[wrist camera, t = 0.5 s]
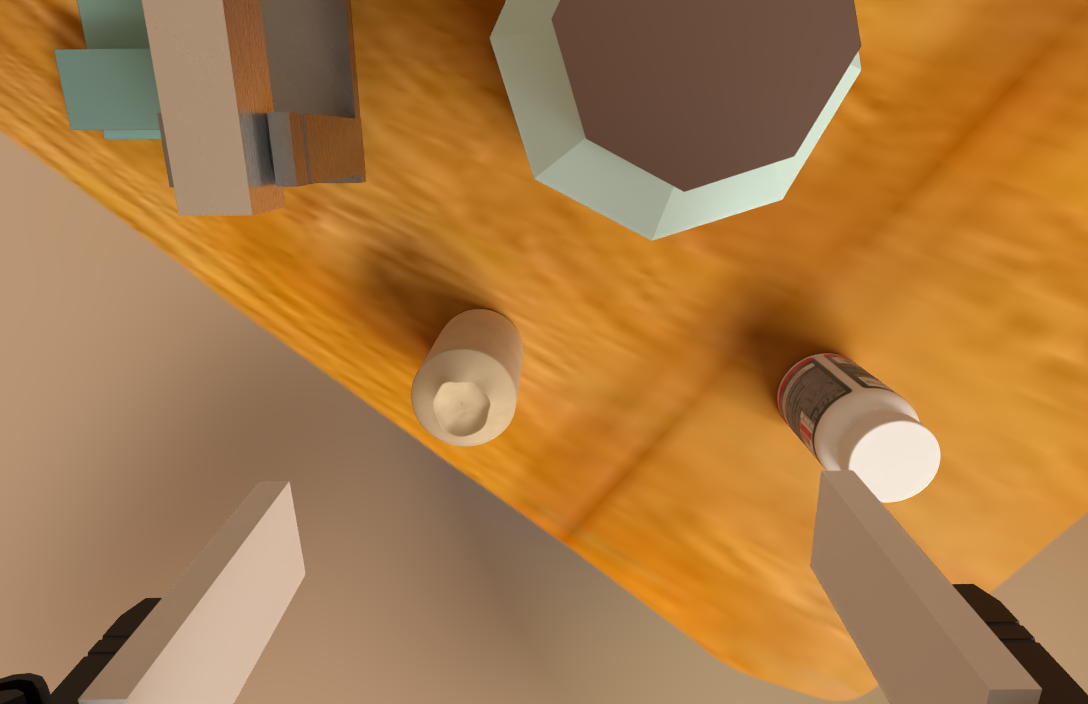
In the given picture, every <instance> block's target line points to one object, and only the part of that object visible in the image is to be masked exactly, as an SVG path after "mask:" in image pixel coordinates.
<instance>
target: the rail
mask: <svg viewBox="0 0 1088 704" xmlns="http://www.w3.org/2000/svg"><path fill="white" fill-rule="evenodd" d="M142 4H143V10H144V16H145V22H146V27H147V33H148V39H149V45H150V51H151V56H152V62H153V68H154V74H155V79H156V85H157V91H158V97H159V103H160V108H161V114H162V120H163V126H164V132H165V137H166V143H167V149H168V155H169V160H170V166H171V172H172V178H173V184H174V189H175V195H176V201H177V207H178V213H179V216H201V215H255V214H259V213H263V212H267V211H271V210H275V209H279V208H283V207H286V206H285V198H284V190H283V187H276V179H275V172H274V164H273V156H272V148H271V140H270V132H269V124H268V116H267V112H274V109H273V101H272V93H271V85H270V77H269V68H268V60H267V52H266V44H265V36H264V28H263V20H262V12H261V4H260V0H142Z"/></svg>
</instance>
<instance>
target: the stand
mask: <svg viewBox="0 0 1088 704" xmlns="http://www.w3.org/2000/svg"><path fill="white" fill-rule="evenodd" d="M260 4H261V12H262V20H263V28H264V36H265V44H266V52H267V60H268V68H269V77H270V85H271V93H272V101H273V109H274V112H267V116H268V124H269V132H270V140H271V148H272V156H273V164H274V172H275V179H276V187H288V186H302V185H308V184H314V183H362V182H366V179H365V162H364V151H363V139H362V128H361V119H360V109H359V98H358V86H357V74H356V63H355V51H354V40H353V28H352V17H351V5H350V0H260ZM157 116H158V122H159V128H160V134H161V139H162V145H163V151H164V156H165V162H166V168H167V174H168V179H169V185H170V187H174V184H173V178H172V172H171V166H170V160H169V155H168V149H167V143H166V137H165V132H164V126H163V120H162V114H161V113H157Z"/></svg>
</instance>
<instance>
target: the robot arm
mask: <svg viewBox="0 0 1088 704" xmlns="http://www.w3.org/2000/svg"><path fill="white" fill-rule="evenodd" d="M810 566H811V568H812V570H813V572H814V573H815V575H816V577H817V579H818V580H819V582H820V584H821V585H822V587H823V589H824V591H825V592H826V594H827V596H828V598H829V599H830V601H831V603H832V604H833V606H834V608H835V610H836V611H837V613H838V615H839V617H840V618H841V620H842V622H843V623H844V625H845V627H846V629H847V630H848V632H849V634H850V636H851V637H852V639H853V641H854V642H855V644H856V646H857V648H858V649H859V651H860V653H861V655H862V656H863V658H864V660H865V661H866V663H867V665H868V667H869V668H870V670H871V672H872V674H873V675H874V677H875V679H876V680H877V682H878V684H879V686H880V687H881V689H882V691H883V692H884V694H885V696H886V698H887V699H888V701H889V703H890V704H1088V695H1087V694H1086V693H1085V692H1084V691H1083V689H1082V688H1081V687H1080V686H1079V685H1078V684H1077V683H1076V682H1075V681H1074V680H1073V679H1072V678H1071V677H1070V675H1069V674H1068V673H1067V672H1066V671H1065V670H1064V669H1063V668H1062V667H1061V666H1060V665H1059V664H1058V663H1057V662H1056V661H1055V660H1054V658H1053V657H1052V656H1051V655H1050V654H1049V653H1048V652H1047V651H1046V650H1045V649H1044V648H1043V647H1042V646H1041V644H1040V643H1036V642H1035V638H1034V637H1033V636H1032V635H1031V634H1030V633H1029V632H1028V631H1027V630H1026V629H1025V627H1024V626H1020V625H1019V621H1018V620H1017V619H1016V618H1015V617H1014V616H1013V615H1012V613H1010V611H1009V610H1008V609H1007V608H1006V607H1005V606H1004V605H1003V604H1002V603H1001V602H1000V601H999V600H997V599H996V598H994V597H993V596H991V595H990V594H988V593H986V592H985V591H983V590H982V589H980V588H979V587H977V586H976V585H974V584H951V583H950V582H949V581H948V580H947V578H946V577H945V576H944V575H943V574H942V573H941V571H940V570H939V569H938V568H937V567H936V566H935V565H934V563H933V562H932V561H931V560H930V559H929V558H928V556H927V555H926V554H925V553H924V552H923V551H922V549H921V548H920V547H919V546H918V545H917V544H916V543H915V541H914V540H913V539H912V538H911V537H910V536H909V534H908V533H907V532H906V531H905V530H904V529H903V527H902V526H901V525H900V524H899V523H898V522H897V521H896V519H895V518H894V517H893V516H892V515H891V514H890V512H889V511H888V510H887V509H886V508H885V507H884V506H883V504H882V503H881V502H880V501H879V500H878V499H877V497H876V496H875V495H874V494H873V493H872V492H871V490H870V489H869V488H868V487H867V486H866V485H865V484H864V482H863V481H862V480H861V479H860V478H859V477H858V475H857V474H856V473H855V472H854V471H853V470H841V471H821V478H820V487H819V495H818V504H817V512H816V521H815V529H814V538H813V546H812V555H811V563H810ZM304 576H305V568H304V562H303V557H302V551H301V545H300V539H299V534H298V528H297V522H296V517H295V511H294V505H293V500H292V494H291V488H290V483H289V481H278V482H277V481H275V482H258V483H257V485H256V486H255V487H254V488H253V490H252V491H251V492H250V493H249V494H248V496H247V497H246V498H245V499H244V500H243V502H242V503H241V504H240V505H239V506H238V508H237V509H236V510H235V511H234V512H233V514H232V515H231V516H230V517H229V518H228V520H227V521H226V522H225V523H224V524H223V526H222V527H221V528H220V529H219V530H218V532H217V533H216V534H215V535H214V536H213V538H212V539H211V540H210V541H209V543H208V544H207V545H206V546H205V547H204V548H203V550H202V551H201V552H200V553H199V555H198V556H197V557H196V558H195V559H194V561H193V562H192V563H191V564H190V566H188V568H187V569H186V570H185V571H184V573H183V574H182V575H181V576H180V577H179V579H178V580H177V581H176V582H175V583H174V585H173V586H172V587H171V588H170V589H169V591H168V592H167V593H166V594H165V595H164V597H163V598H146V599H144V600H143V601H141V602H140V603H138V604H137V605H136V606H134V607H133V608H131V609H130V610H128V611H127V612H125V613H124V614H122V615H121V616H120V617H119V618H118V619H117V620H116V621H115V623H114V624H113V625H112V626H111V627H110V628H109V629H108V630H107V632H106V633H105V634H104V635H103V638H102V640H99V641H98V642H97V643H96V644H95V645H94V646H93V647H92V649H91V650H90V651H89V652H88V656H87V657H84V658H83V659H82V660H81V661H80V662H79V663H78V664H77V665H76V667H75V668H74V669H73V670H72V671H71V672H70V673H69V674H68V676H67V677H66V678H65V679H64V680H63V681H62V682H61V684H60V685H59V686H58V687H57V688H56V689H55V690H54V691H53V693H52V694H51V695H50V692H49V689H48V686H47V684H46V682H45V680H44V679H43V677H42V676H39V675H35V674H32V673H26V674H16V675H11V676H8V677H5V678H1V679H0V704H233V703H234V702H235V700H236V698H237V696H238V694H239V693H240V690H241V689H242V687H243V685H244V684H245V682H246V680H247V678H248V676H249V675H250V673H251V671H252V669H253V667H254V666H255V664H256V662H257V660H258V659H259V657H260V655H261V653H262V651H263V650H264V648H265V646H266V644H267V642H268V640H269V639H270V637H271V635H272V633H273V632H274V630H275V628H276V626H277V624H278V623H279V621H280V619H281V617H282V615H283V613H284V612H285V610H286V608H287V606H288V605H289V603H290V601H291V599H292V597H293V596H294V593H295V592H296V590H297V588H298V587H299V585H300V583H301V581H302V579H303V578H304Z"/></svg>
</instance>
